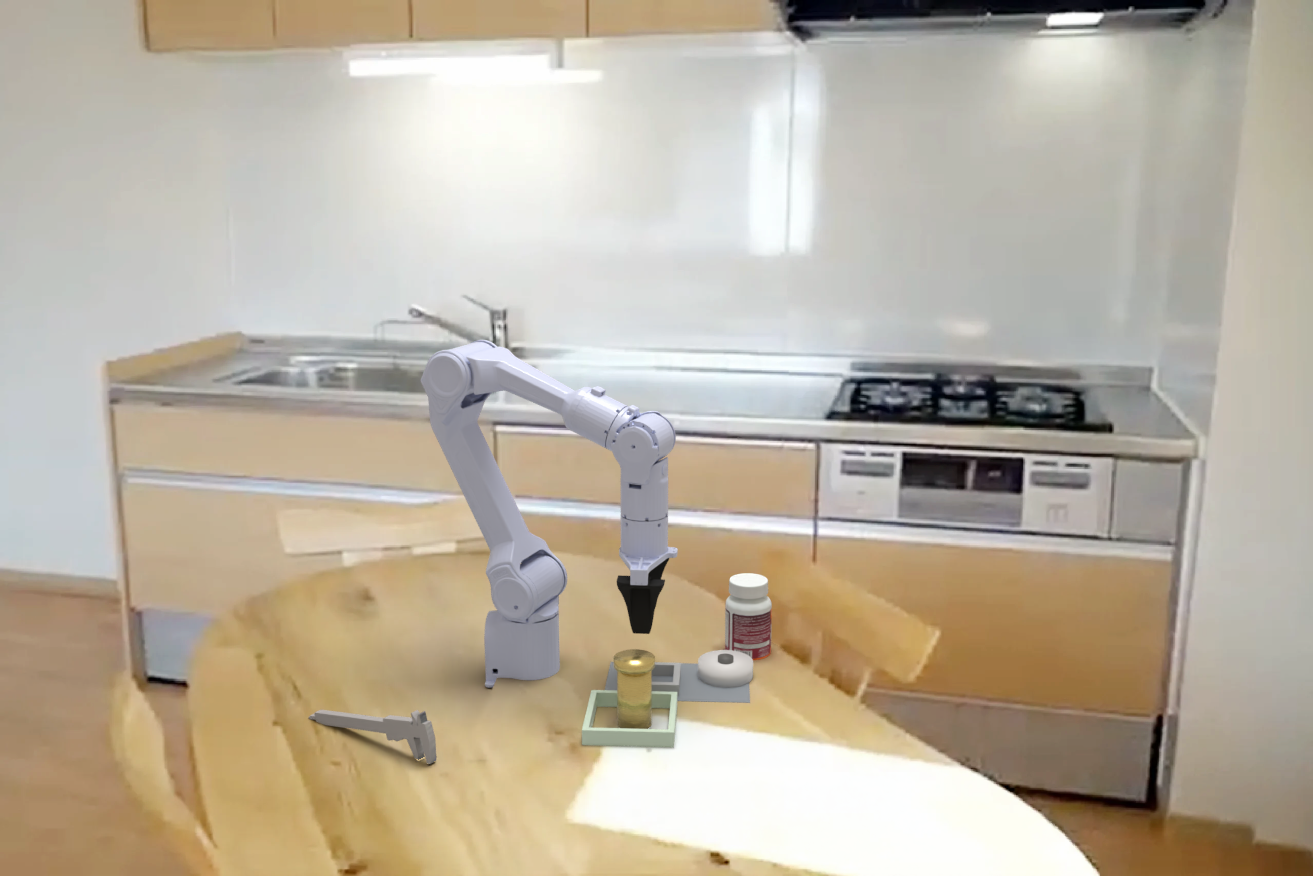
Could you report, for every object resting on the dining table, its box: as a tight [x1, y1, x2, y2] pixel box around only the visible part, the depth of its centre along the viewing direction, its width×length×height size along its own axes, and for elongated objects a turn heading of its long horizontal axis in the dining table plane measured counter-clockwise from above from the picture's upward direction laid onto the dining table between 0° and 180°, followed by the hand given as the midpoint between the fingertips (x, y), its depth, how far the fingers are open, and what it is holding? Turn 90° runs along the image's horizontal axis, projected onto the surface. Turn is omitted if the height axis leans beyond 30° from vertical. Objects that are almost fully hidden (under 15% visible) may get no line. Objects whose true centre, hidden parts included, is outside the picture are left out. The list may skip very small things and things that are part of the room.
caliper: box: [308, 709, 437, 765], centre depth 142 cm, size 20×1×6 cm, turn 56°
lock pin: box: [613, 648, 656, 729], centre depth 143 cm, size 5×5×9 cm
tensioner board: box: [604, 649, 754, 704], centre depth 155 cm, size 18×11×4 cm, turn 87°
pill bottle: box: [724, 572, 773, 661], centre depth 163 cm, size 6×6×11 cm
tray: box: [581, 689, 678, 749], centre depth 144 cm, size 10×10×3 cm
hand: (644, 620), depth 151 cm, fingers open, 7 cm apart
